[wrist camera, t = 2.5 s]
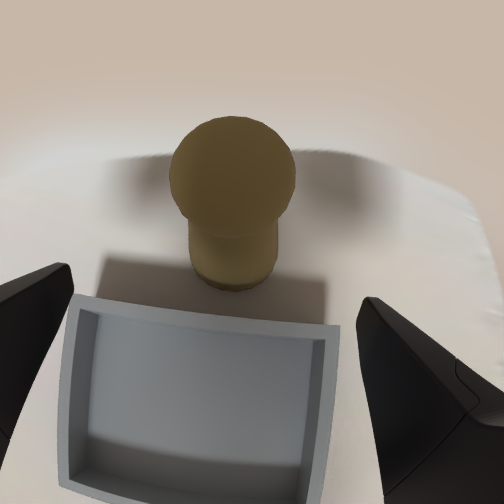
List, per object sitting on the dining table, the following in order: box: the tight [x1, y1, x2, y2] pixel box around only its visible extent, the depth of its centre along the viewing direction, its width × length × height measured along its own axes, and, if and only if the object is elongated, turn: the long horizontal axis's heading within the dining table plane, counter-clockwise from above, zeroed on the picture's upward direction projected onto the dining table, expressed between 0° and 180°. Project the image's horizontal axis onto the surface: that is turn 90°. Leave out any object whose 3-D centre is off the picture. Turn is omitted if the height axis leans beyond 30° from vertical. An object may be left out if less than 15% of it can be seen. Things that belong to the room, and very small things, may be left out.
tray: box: [57, 293, 340, 504], centre depth 17 cm, size 16×13×4 cm
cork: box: [169, 116, 296, 292], centre depth 17 cm, size 6×6×11 cm
